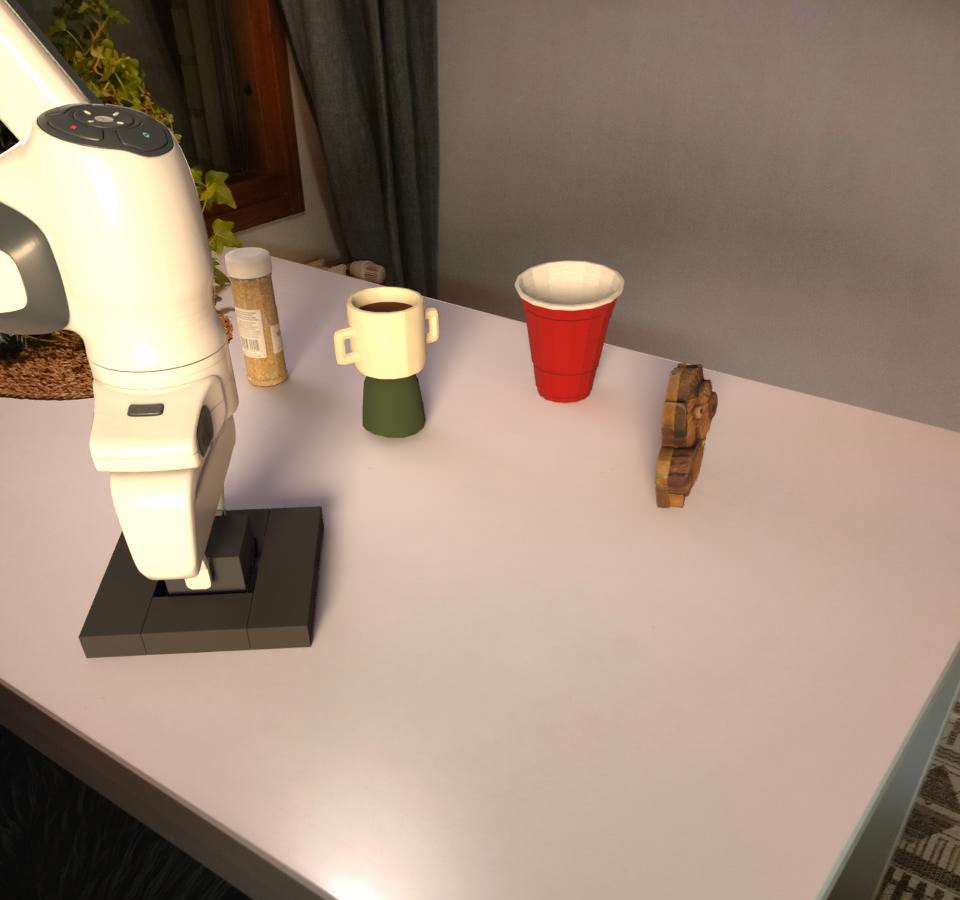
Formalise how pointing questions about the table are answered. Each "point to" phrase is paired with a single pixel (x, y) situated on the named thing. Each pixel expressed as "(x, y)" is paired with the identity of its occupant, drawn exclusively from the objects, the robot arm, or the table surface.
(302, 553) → the base pad
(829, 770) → the table surface
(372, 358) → the character mug
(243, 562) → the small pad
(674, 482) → the wooden carving
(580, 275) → the plastic cup
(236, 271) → the sprinkles bottle
